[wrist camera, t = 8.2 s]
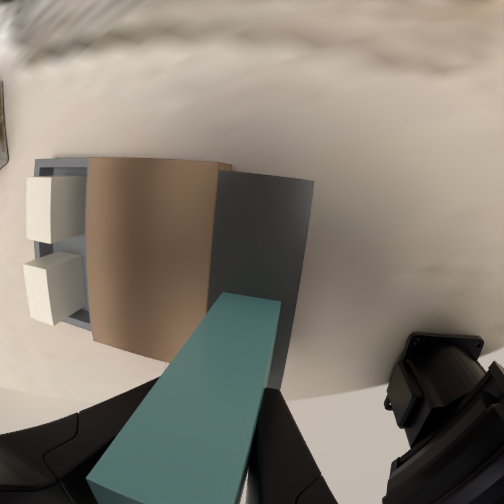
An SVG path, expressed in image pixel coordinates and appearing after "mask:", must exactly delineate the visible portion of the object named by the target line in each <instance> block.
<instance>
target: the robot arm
mask: <svg viewBox="0 0 504 504" xmlns="http://www.w3.org/2000/svg"><path fill="white" fill-rule="evenodd" d="M416 338H418V340H417V341H416V342H413V340H414V339H416ZM478 342H479V343H478ZM477 343H478V345H476V344H477ZM483 345H484V341H483V339H482V338H481V337H477V336H460V335H445V334H431V333H419V332H415V333H412V334H411V335H410V336H409V338H408V340H407V343H406V346H405V349H404V352H403V355H402V358H401V360H400V361H399V362H398V363H397V365H396V367H395V370H394V373H393V375H392V378H391V381H390V383H389V386H388V388H387V393H388V394H387V397H386V399H385V401H384V406H385V409H386V410H390V411H391V410H392V411H393V412H394V415H395V418H396V422H397V425H398V426H399V428H400V429H405V432H406V435H407V439H408V442H409V445H410V448H411V449H410V450H409V451H408V452H407V453H405V454H404V455H403V456H402V457H398V458H397V459H396V460H394V461H393V462H392V464H391V470H390V477H389V480H388V485H387V494H386V496H384V497H383V498H382V504H504V368H503V367H502V366H500V365H499V364H498V363H497V362H495V361H493V363H492V364H491V365H490V366H489V370H488V371H487V372H486V371H485V370H484V368H483V367H482V366H481V365H480V363H479V362H478V361H477V360H478V357H479V355H480V353H481V350H482V348H483ZM160 377H161V376H160ZM160 377H158V378H156V379H153V380H151V381H149V382H147V383H145V384H143V385H140V386H138V387H136V388H134V389H131V390H129V391H127V392H125V393H122V394H120V395H118V396H115V397H113V398H111V399H108V400H106V401H104V402H101V403H99V404H97V405H94V406H92V407H89V408H87V409H84V410H82V411H80V412H79V413H74V414H72V415H69V416H67V417H64V418H61V419H58V420H55V421H52V422H50V423H46V424H43V425H39V426H36V427H32V428H28V429H23V430H19V431H15V432H10V433H6V434H1V435H0V504H98V502H97V500H96V498H95V496H94V494H93V492H92V490H91V488H90V486H89V484H88V482H87V480H86V477H87V476H88V474H89V473H90V472H91V470H92V469H93V468H94V466H95V465H96V464H97V462H98V461H99V460H100V458H101V457H102V455H103V454H104V453H105V451H106V450H107V449H108V447H109V446H110V445H111V443H112V442H113V440H114V439H115V438H116V436H117V435H118V434H119V432H120V431H121V430H122V428H123V427H124V426H125V424H126V423H127V421H128V420H129V419H130V417H131V416H132V415H133V413H134V412H135V411H136V409H137V408H138V406H139V405H140V404H141V402H142V401H143V400H144V398H145V397H146V396H147V394H148V393H149V392H150V390H151V389H152V387H153V386H154V385H155V383H156V382H157V381H158V379H159V378H160ZM390 403H391V405H389V404H390ZM246 504H338V503H337V501H336V499H335V498H334V496H333V494H332V492H331V491H330V489H329V487H328V485H327V483H326V481H325V479H324V478H323V476H321V472H320V470H319V468H318V466H317V464H316V462H315V460H314V458H313V456H312V454H311V452H310V450H309V448H308V446H307V445H306V442H305V441H304V438H303V436H302V434H301V432H300V430H299V429H298V426H297V424H296V422H295V420H294V418H293V416H292V414H291V412H290V410H289V408H288V406H287V404H286V402H285V400H284V398H283V396H282V394H281V392H280V390H279V389H274V388H267V387H266V388H265V389H264V393H263V398H262V402H261V406H260V410H259V414H258V419H257V424H256V430H255V435H254V441H253V446H252V452H251V457H250V462H249V468H248V481H247V494H246Z"/></svg>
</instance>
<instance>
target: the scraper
mask: <svg viewBox="0 0 504 504" xmlns="http://www.w3.org/2000/svg"><path fill="white" fill-rule="evenodd" d="M313 186H314V181H310V180H302V179H295V178H287V177H279V176H271V175H262V174H253V173H243V172H233V171H222V170H219V173H218V183H217V193H216V204H215V214H214V226H213V237H212V249H211V262H210V276H209V290H208V305H207V314H206V315H205V317H204V318H203V319H202V321H201V322H200V323H199V325H198V326H197V328H196V329H195V330H194V332H193V333H192V334H191V336H190V337H189V338H188V340H187V341H186V343H185V344H184V345H183V347H182V348H181V349H180V351H179V352H178V353H177V355H176V356H175V357H174V359H173V360H172V362H171V363H170V364H169V366H168V367H167V368H166V370H165V371H164V372H163V374H162V375H161V377H160V378H159V379H158V381H157V382H156V383H155V385H154V386H153V387H152V389H151V390H150V392H149V393H148V394H147V396H146V397H145V398H144V400H143V401H142V402H141V404H140V405H139V406H138V408H137V409H136V411H135V412H134V413H133V415H132V416H131V417H130V419H129V420H128V421H127V423H126V424H125V426H124V427H123V428H122V430H121V431H120V432H119V434H118V435H117V436H116V438H115V439H114V440H113V442H112V443H111V445H110V446H109V447H108V449H107V450H106V451H105V453H104V454H103V455H102V457H101V458H100V460H99V461H98V462H97V464H96V465H95V466H94V468H93V469H92V470H91V472H90V473H89V474H88V476H87V477H86V480H87V482H88V484H89V486H90V488H91V490H92V492H93V494H94V496H95V498H96V500H97V502H98V504H240V501H241V497H242V493H243V489H244V485H245V481H246V477H247V473H248V468H249V462H250V457H251V452H252V446H253V441H254V435H255V430H256V424H257V419H258V414H259V410H260V406H261V402H262V398H263V393H264V389H265V388H266V387H267V388H274V389H279V390H280V388H281V383H282V378H283V373H284V368H285V363H286V358H287V353H288V347H289V342H290V337H291V331H292V326H293V320H294V314H295V308H296V303H297V297H298V291H299V284H300V278H301V272H302V266H303V259H304V252H305V246H306V239H307V232H308V225H309V217H310V210H311V202H312V194H313Z"/></svg>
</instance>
